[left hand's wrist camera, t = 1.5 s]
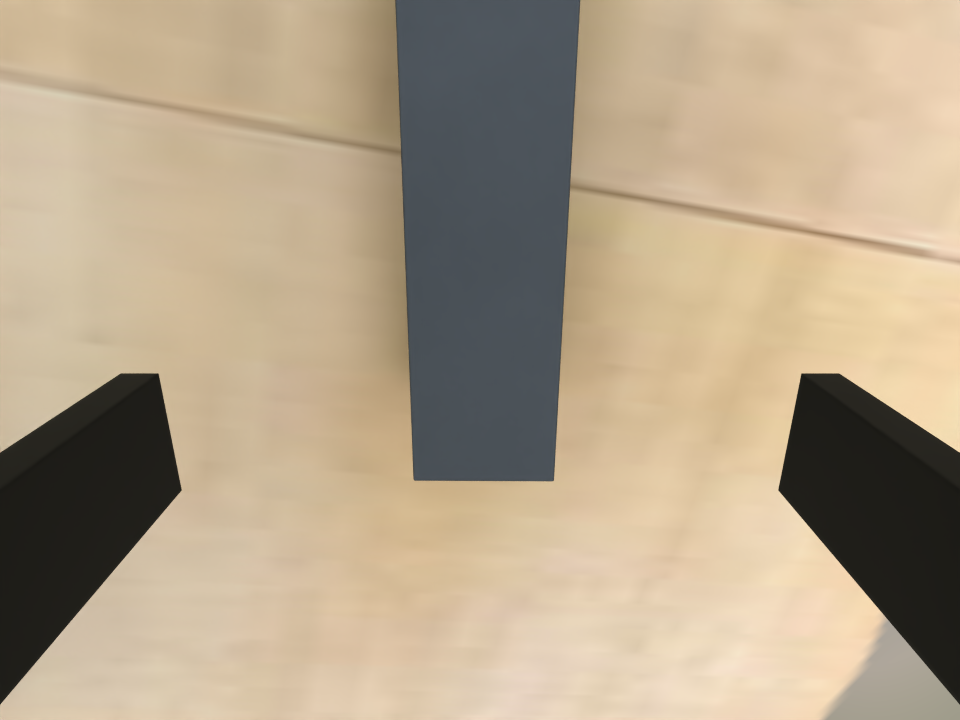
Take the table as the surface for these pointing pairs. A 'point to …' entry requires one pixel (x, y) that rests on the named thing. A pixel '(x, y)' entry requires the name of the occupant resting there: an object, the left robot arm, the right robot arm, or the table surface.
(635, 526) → the table surface
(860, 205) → the table surface
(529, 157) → the bar
